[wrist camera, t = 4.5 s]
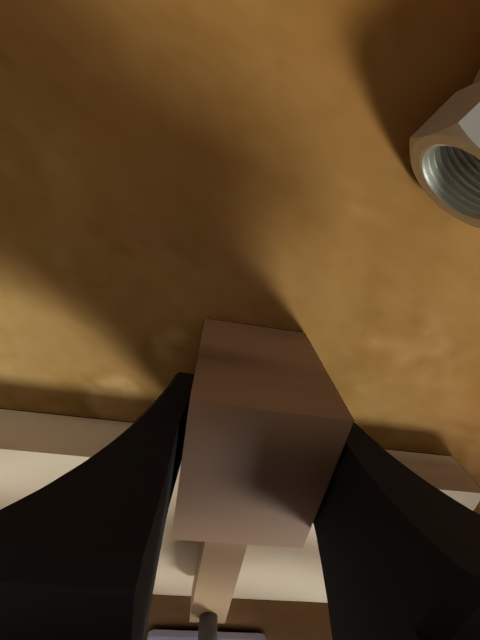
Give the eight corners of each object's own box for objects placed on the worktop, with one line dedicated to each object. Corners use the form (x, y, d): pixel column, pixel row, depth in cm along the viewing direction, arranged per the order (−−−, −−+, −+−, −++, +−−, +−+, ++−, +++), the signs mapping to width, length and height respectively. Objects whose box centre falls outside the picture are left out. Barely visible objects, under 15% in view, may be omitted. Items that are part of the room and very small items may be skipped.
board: (388, 564, 18) (406, 606, 16) (-75, 535, 16) (-116, 581, 14) (452, 456, 15) (485, 493, 13) (-125, 395, 12) (-188, 431, 10)
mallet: (246, 539, 17) (253, 670, 12) (175, 534, 16) (154, 668, 12) (304, 332, 12) (353, 420, 7) (204, 318, 11) (189, 401, 7)
